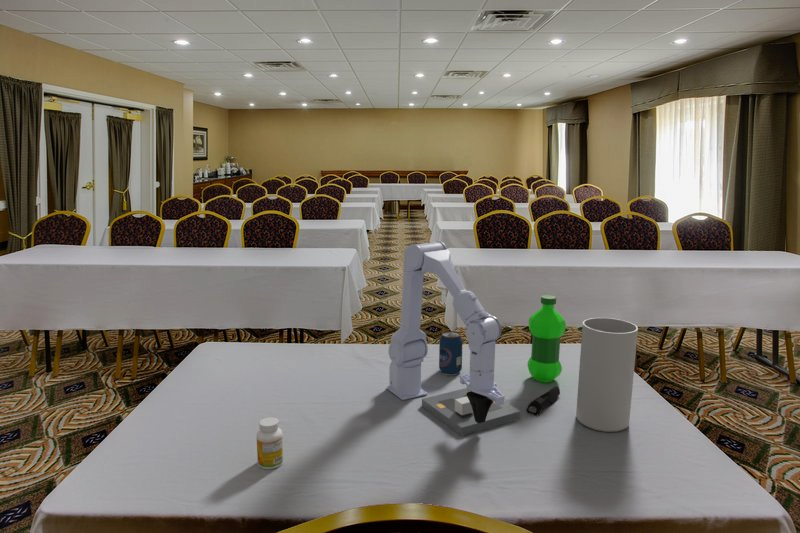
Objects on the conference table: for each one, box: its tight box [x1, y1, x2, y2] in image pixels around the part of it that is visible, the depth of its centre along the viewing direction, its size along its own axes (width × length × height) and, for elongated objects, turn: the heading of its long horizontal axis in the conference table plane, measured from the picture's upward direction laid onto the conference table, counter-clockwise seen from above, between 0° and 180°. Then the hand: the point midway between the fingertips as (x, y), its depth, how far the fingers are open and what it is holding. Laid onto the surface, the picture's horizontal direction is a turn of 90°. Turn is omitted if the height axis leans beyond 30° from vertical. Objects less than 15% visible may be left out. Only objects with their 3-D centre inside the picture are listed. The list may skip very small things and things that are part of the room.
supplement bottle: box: [256, 417, 284, 470], centre depth 121 cm, size 5×5×10 cm
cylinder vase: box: [575, 317, 639, 433], centre depth 139 cm, size 12×12×25 cm
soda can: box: [438, 330, 463, 376], centre depth 172 cm, size 7×7×12 cm
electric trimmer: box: [525, 385, 561, 416], centre depth 151 cm, size 4×16×3 cm, turn 141°
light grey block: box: [455, 397, 473, 415], centre depth 141 cm, size 3×4×3 cm
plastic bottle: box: [527, 294, 567, 383], centre depth 165 cm, size 10×10×25 cm
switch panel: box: [421, 387, 521, 436], centre depth 146 cm, size 18×18×2 cm
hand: (480, 421), depth 136 cm, fingers closed
